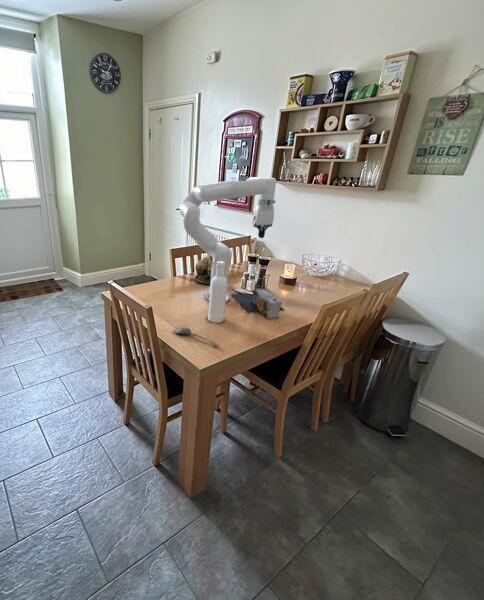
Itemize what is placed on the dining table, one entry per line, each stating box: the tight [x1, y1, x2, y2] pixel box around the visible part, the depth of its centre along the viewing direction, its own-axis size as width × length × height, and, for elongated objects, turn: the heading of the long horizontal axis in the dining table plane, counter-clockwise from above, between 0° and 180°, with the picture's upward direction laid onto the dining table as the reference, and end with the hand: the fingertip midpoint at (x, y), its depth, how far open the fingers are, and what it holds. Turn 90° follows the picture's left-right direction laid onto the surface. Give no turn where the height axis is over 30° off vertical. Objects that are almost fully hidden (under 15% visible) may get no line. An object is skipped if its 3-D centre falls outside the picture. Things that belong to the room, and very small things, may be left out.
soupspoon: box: [174, 326, 219, 347], centre depth 146 cm, size 22×3×7 cm
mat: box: [230, 292, 284, 313], centre depth 185 cm, size 20×24×1 cm
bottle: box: [207, 261, 228, 324], centre depth 159 cm, size 8×8×30 cm
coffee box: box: [251, 288, 282, 319], centre depth 172 cm, size 9×6×16 cm
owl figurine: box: [193, 255, 213, 286], centre depth 212 cm, size 18×12×17 cm, turn 43°
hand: (261, 237), depth 179 cm, fingers closed
